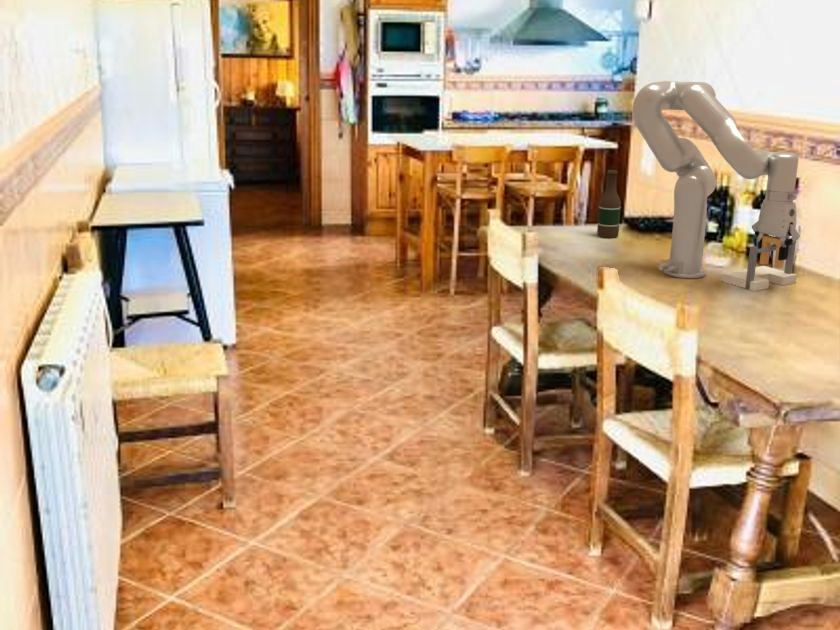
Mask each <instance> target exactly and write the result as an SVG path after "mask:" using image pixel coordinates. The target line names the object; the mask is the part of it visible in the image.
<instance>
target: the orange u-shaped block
mask: <svg viewBox="0 0 840 630" xmlns="http://www.w3.org/2000/svg"><path fill="white" fill-rule="evenodd" d="M785 242H786V239H785ZM772 244H773V245H775V246H777V248H776V256H775V264H774V268H778V269H779V268H783V264H784V260H781V261H780V260H778V256H779V248H780V247H782V245H781V241H780V237H776V236H772V235H764V236H763V238H762V248H767V247H771V245H772ZM770 253H771V251H768V252H762V253H761V255H759V257H760V258H759V264H760V265H762V266H765V265H769V261H770Z"/></svg>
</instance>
